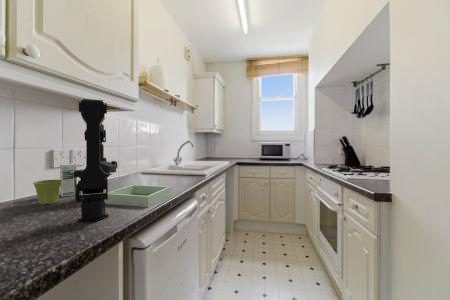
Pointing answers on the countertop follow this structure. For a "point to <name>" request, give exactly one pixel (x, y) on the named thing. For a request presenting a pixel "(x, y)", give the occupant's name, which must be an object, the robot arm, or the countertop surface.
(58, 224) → the countertop surface
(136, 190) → the green square tray
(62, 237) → the countertop surface
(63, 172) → the syrup box
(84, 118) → the robot arm
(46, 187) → the plant pot
